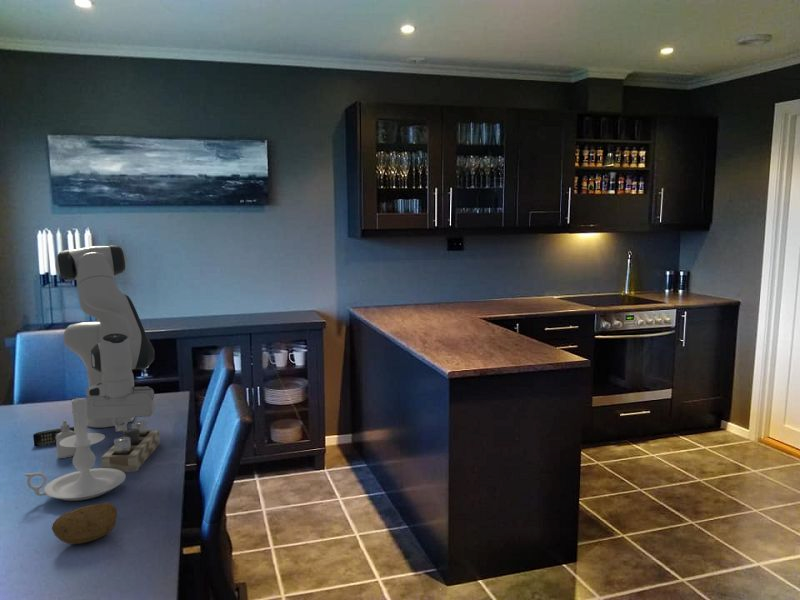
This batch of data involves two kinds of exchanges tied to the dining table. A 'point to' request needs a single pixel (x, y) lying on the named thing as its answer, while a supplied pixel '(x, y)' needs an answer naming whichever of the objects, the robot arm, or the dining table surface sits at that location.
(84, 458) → the candlestick
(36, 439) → the mobile phone
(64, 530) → the potato
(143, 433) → the steel knob
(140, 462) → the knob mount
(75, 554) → the dining table surface
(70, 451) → the eye dropper bottle
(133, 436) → the black knob middle
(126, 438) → the steel knob
